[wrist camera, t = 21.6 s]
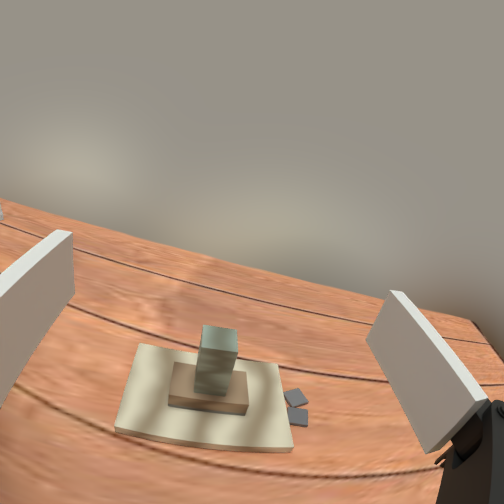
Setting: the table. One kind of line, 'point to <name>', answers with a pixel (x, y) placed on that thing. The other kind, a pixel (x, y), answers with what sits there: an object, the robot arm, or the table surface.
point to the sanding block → (211, 377)
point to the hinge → (0, 214)
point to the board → (197, 422)
